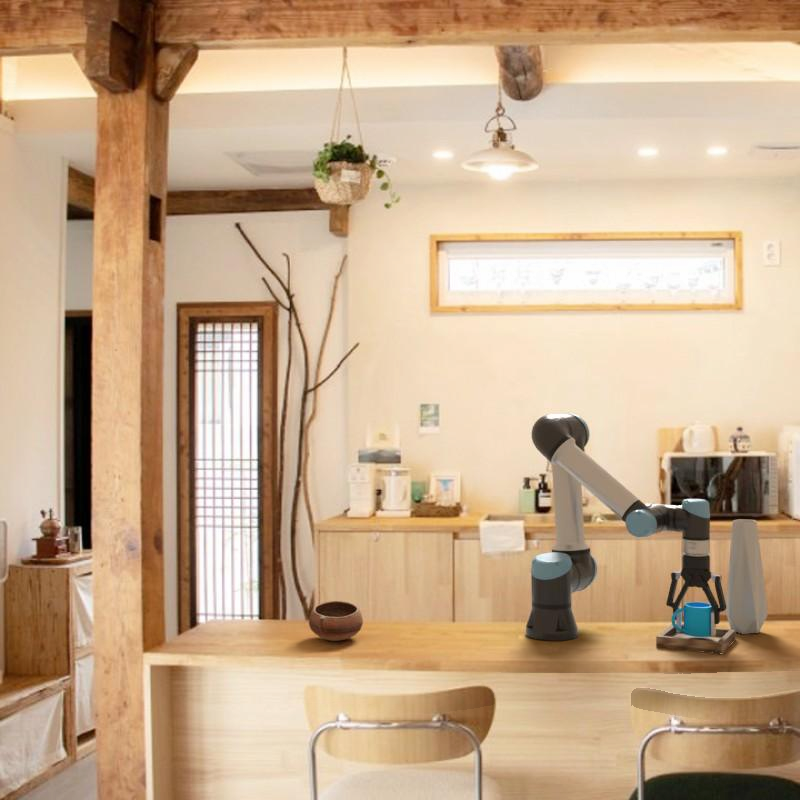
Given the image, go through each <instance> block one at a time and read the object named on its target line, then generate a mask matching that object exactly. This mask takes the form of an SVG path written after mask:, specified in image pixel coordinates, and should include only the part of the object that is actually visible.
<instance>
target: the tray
mask: <svg viewBox="0 0 800 800" xmlns="http://www.w3.org/2000/svg"><path fill="white" fill-rule="evenodd" d="M675 624H676V625H677V623H675ZM682 629H683V630H684V623H682ZM736 635H737V633H736V630H734V629H731V628H723V627H716V635H715V636H709V637H694V636H689V635H686V634H684V632H681V631H680V632H679V633H678V632H677V629H675V628H674V626H673V625H672V623H671V624H669V626H667V627H666V628H665V629H663V630H662V631H661V632H659V633H658V634H657V635H656V636H655V639H656V640H655V641H656V643H655V644H656V645H655V646H658V647H657V648H661V647H667V648H666V649H670V648H673V649H672V650H678V649H680V650H679V651H687V650H692V651H691V652H696V651H702V652H701V653H705V652H713V653H723V652H724V651H725V650H726V649H727V648H728V647H729V645H730V644H731V643H732V642H733V641H734V640H735V639H736V640H737V638H736V637H737V636H736ZM736 640H735V641H736ZM735 641H734V642H735ZM734 642H733V643H734ZM733 643H732V644H733ZM729 648H730V647H729ZM729 648H728V649H729ZM728 649H727V650H728ZM727 650H726V651H727ZM703 651H704V652H703ZM726 651H725V652H726ZM725 652H724V653H725ZM713 653H712V654H713ZM724 653H723V654H724Z"/></svg>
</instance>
